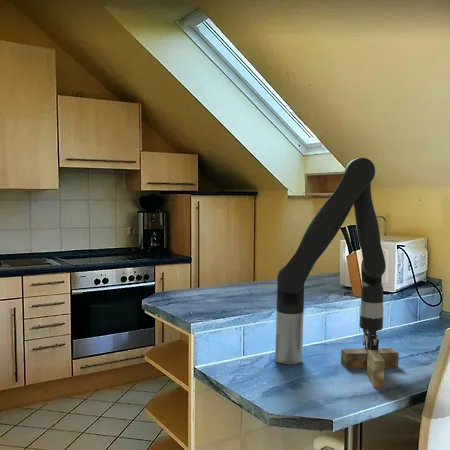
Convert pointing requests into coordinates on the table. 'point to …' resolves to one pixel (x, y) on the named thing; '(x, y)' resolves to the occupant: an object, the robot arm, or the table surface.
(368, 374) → the fulcrum
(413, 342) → the table surface
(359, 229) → the robot arm
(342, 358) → the batten
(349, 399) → the table surface
